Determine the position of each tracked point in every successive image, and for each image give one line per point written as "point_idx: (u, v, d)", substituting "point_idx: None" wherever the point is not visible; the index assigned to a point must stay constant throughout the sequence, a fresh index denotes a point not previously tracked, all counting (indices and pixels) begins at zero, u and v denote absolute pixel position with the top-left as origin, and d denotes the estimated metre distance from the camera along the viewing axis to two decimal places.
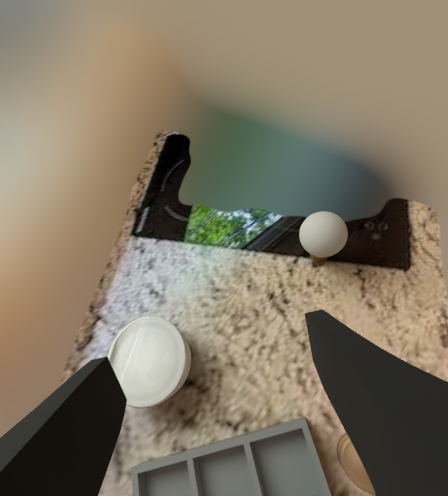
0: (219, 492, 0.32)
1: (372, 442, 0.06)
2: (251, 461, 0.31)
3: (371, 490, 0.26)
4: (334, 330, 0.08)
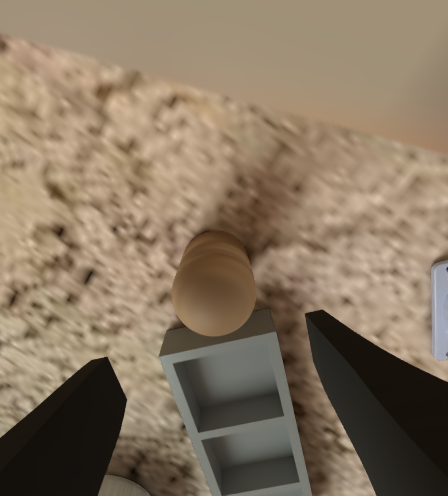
0: (263, 445, 0.23)
1: (372, 442, 0.06)
2: (222, 430, 0.20)
3: (250, 308, 0.14)
4: (334, 330, 0.08)
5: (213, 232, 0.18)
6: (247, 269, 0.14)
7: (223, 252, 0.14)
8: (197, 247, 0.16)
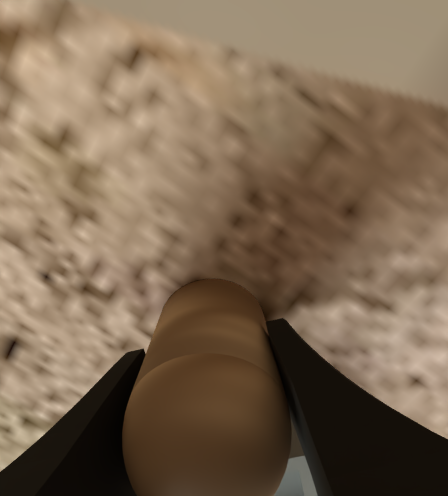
0: None
1: (309, 454, 0.06)
2: None
3: None
4: (286, 340, 0.08)
5: (208, 283, 0.11)
6: (274, 385, 0.07)
7: (226, 349, 0.07)
8: (177, 324, 0.08)
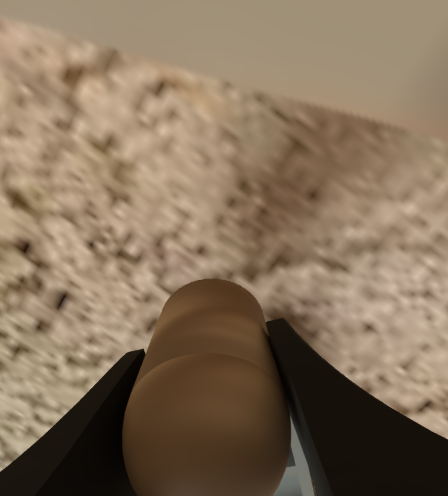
0: None
1: (309, 454, 0.06)
2: None
3: None
4: (286, 340, 0.08)
5: (208, 283, 0.11)
6: (274, 384, 0.07)
7: (226, 349, 0.07)
8: (177, 324, 0.08)
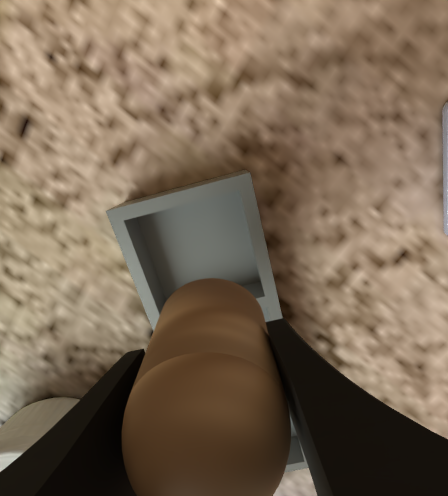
0: None
1: (309, 454, 0.06)
2: None
3: None
4: (286, 340, 0.08)
5: (208, 283, 0.11)
6: (274, 384, 0.07)
7: (225, 348, 0.07)
8: (177, 324, 0.08)
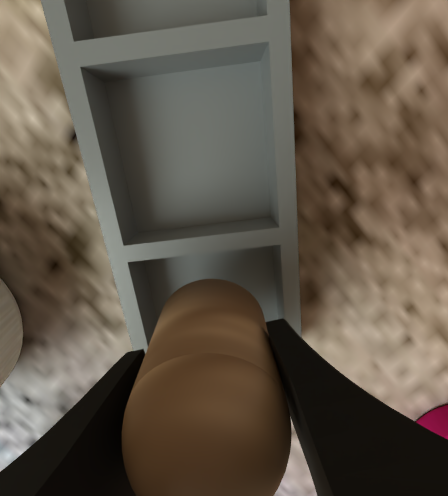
0: (219, 182, 0.12)
1: (309, 454, 0.06)
2: (129, 43, 0.09)
3: None
4: (286, 340, 0.08)
5: (208, 283, 0.11)
6: (274, 385, 0.07)
7: (226, 349, 0.07)
8: (177, 324, 0.08)
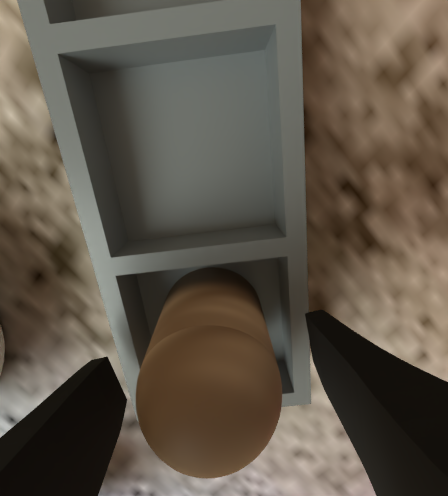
0: (218, 185, 0.11)
1: (372, 442, 0.06)
2: (113, 27, 0.08)
3: (273, 428, 0.08)
4: (334, 330, 0.08)
5: (209, 271, 0.12)
6: (267, 353, 0.08)
7: (225, 322, 0.08)
8: (182, 304, 0.10)
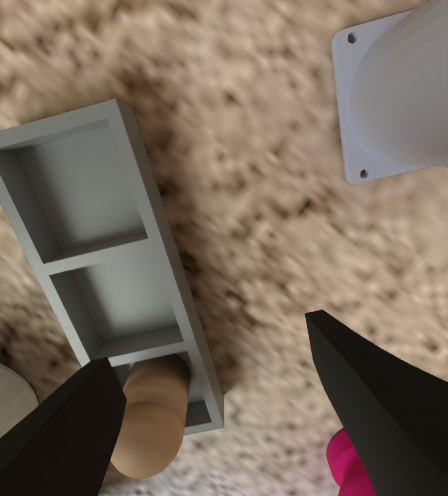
0: (149, 307, 0.19)
1: (372, 442, 0.06)
2: (74, 261, 0.16)
3: (173, 450, 0.15)
4: (334, 330, 0.08)
5: None
6: (169, 411, 0.16)
7: (147, 398, 0.16)
8: (130, 385, 0.17)
